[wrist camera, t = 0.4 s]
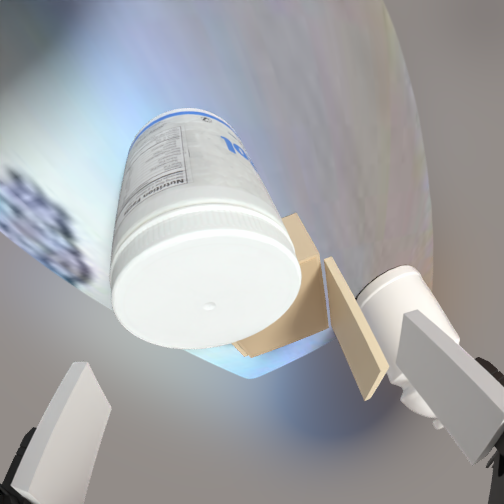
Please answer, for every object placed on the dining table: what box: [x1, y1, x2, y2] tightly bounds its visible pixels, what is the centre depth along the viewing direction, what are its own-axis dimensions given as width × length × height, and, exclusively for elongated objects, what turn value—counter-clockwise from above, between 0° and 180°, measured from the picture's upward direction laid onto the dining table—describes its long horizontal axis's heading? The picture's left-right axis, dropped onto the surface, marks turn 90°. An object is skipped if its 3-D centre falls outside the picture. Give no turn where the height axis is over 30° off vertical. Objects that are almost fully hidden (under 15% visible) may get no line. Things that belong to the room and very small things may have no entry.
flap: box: [324, 256, 389, 401], centre depth 30 cm, size 16×1×12 cm, turn 16°
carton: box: [232, 213, 329, 358], centre depth 36 cm, size 18×13×6 cm
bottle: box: [356, 265, 460, 429], centre depth 42 cm, size 14×14×28 cm
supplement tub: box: [110, 108, 302, 349], centre depth 19 cm, size 10×10×15 cm
